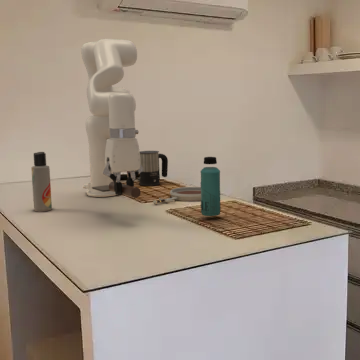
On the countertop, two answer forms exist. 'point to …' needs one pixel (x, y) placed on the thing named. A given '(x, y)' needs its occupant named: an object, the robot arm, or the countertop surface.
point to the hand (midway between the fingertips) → (124, 193)
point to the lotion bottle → (41, 183)
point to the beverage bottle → (210, 188)
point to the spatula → (126, 189)
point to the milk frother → (152, 167)
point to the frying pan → (183, 195)
